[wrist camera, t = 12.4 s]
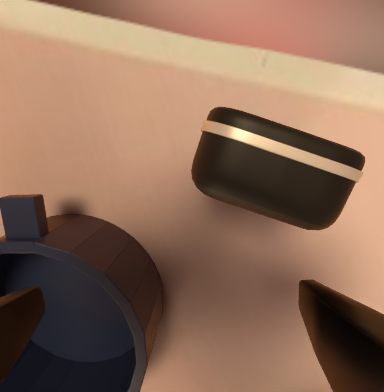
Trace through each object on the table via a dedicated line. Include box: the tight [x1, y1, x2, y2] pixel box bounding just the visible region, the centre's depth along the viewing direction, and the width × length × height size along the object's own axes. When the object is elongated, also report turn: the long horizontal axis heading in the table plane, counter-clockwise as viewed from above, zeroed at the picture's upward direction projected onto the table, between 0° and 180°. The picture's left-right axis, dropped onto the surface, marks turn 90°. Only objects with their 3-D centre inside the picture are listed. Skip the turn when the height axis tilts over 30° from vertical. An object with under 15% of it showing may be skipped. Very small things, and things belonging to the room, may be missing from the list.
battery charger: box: [191, 107, 365, 230], centre depth 15 cm, size 7×4×11 cm, turn 72°
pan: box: [0, 194, 163, 392], centre depth 21 cm, size 16×21×6 cm
